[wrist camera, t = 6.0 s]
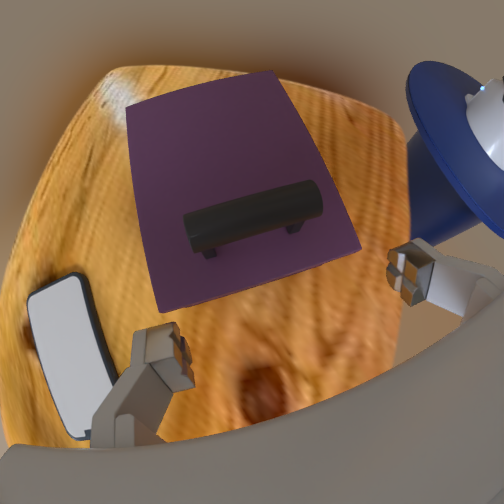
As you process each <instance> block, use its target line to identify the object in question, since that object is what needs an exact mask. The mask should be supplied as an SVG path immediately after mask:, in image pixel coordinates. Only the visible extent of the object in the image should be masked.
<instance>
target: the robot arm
mask: <svg viewBox="0 0 504 504" xmlns="http://www.w3.org/2000/svg"><path fill="white" fill-rule="evenodd" d="M480 89H481V90H480V91H479V92H478V93H477V94H476V95H475V96H474V95H471V94H467V95H466V96H465V100H466V103H467V109H466V115H467V119H468V122H469V125H470V127H471V129H472V131H473V133H474V135H475V137H476V139H477V140H478V142H479V143H480V145H481V146H482V148H483V149H484V151H485V152H486V153H487V154H488V156H489V157H490V158H491V159H492V160H493V162H494V163H495V164H496V165H497V166H498V167H499V168H501V169H502V170H503V171H504V76H503V80H498V79H491V80H490V81H489V82H488V83H487V84H486V85H485V86H484V87H483V86H482V87H481V88H480ZM387 259H388V261H389V262H390V263H389V265H388V267H387V268H386V277H387V281H388V283H389V285H390V287H391V288H392V289H393V290H395V291H398V292H400V297H401V298H402V299H403V300H404V301H405V302H406V303H407V304H408V305H409V306H410V307H411V306H413V305H416V304H417V303H420V302H422V301H424V300H426V301H429V302H431V303H433V304H435V305H437V306H440V307H442V308H444V309H446V310H448V311H451V312H453V313H455V314H457V315H460V316H462V317H463V318H462V321H461V323H460V326H459V327H458V328H456V329H455V330H454V331H452V332H451V333H449V334H448V335H446V336H445V337H443V338H442V339H440V340H439V341H437V342H436V343H434V344H433V345H431V346H429V347H428V348H427V349H425V350H423V351H421V352H420V353H418V354H416V355H415V356H413V357H411V358H410V359H408V360H406V361H405V362H403V363H401V364H399V365H397V366H396V367H394V368H392V369H390V370H388V371H386V372H384V373H382V374H380V375H378V376H376V377H374V378H372V379H370V380H368V381H366V382H364V383H362V384H360V385H358V386H356V387H354V388H352V389H349V390H347V391H345V392H343V393H340V394H338V395H336V396H333V397H331V398H329V399H326V400H324V401H321V402H319V403H316V404H314V405H311V406H308V407H306V408H303V409H300V410H298V411H295V412H292V413H289V414H286V415H283V416H280V417H277V418H274V419H271V420H267V421H264V422H261V423H257V424H254V425H250V426H247V427H243V428H239V429H235V430H231V431H227V432H223V433H218V434H214V435H209V436H204V437H199V438H194V439H189V440H183V441H176V442H170V443H167V442H165V441H164V440H163V439H161V438H160V437H159V436H157V435H156V432H157V430H158V428H159V425H160V423H161V421H162V419H163V416H164V414H165V412H166V410H167V407H168V405H169V403H170V401H171V399H172V396H173V393H175V392H179V391H183V390H187V389H191V388H195V380H194V372H193V370H192V369H191V367H190V365H191V363H192V356H191V352H190V348H189V346H188V343H187V341H186V339H185V338H184V337H182V336H180V329H179V327H178V325H177V324H176V322H170V323H166V324H162V325H158V326H154V327H149V328H147V329H142V330H138V331H135V332H134V334H133V341H132V351H131V362H130V367H129V368H126V369H125V371H124V372H123V374H122V375H121V376H120V378H119V379H118V381H117V382H116V383H115V385H114V386H113V388H112V389H111V390H110V392H109V393H108V395H107V396H106V398H105V399H104V400H103V402H102V403H101V405H100V406H99V408H98V409H97V410H96V412H95V413H94V415H93V416H92V425H91V439H90V448H56V447H43V446H33V445H26V444H14V445H12V446H11V447H10V448H9V449H8V450H7V451H6V453H5V454H4V455H3V456H2V458H1V459H0V504H504V275H503V274H501V273H500V272H499V271H498V270H496V269H495V268H494V267H490V266H487V265H483V264H479V263H476V262H472V261H468V260H464V259H460V258H456V257H452V256H444V255H443V254H441V253H440V252H439V251H437V250H436V249H434V248H433V247H432V246H431V245H429V244H428V243H427V242H425V241H424V240H422V239H420V238H416V239H414V240H412V241H409V242H408V243H405V244H403V245H400V246H398V247H395V248H393V249H390V250H389V252H388V257H387Z"/></svg>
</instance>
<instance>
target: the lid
mask: <svg viewBox="0 0 504 504" xmlns="http://www.w3.org/2000/svg"><path fill="white" fill-rule="evenodd" d="M126 123H127V136H128V147H129V156H130V165H131V174H132V181H133V188H134V195H135V202H136V208H137V214H138V220H139V226H140V231H141V236H142V242H143V247H144V252H145V256H146V261H147V266H148V270H149V274H150V279H151V283H152V287H153V291H154V295H155V299H156V303H157V307H158V310H159V313H167V312H170V311H174V310H177V309H181V308H184V307H187V306H191V305H194V304H198V303H201V302H204V301H208V300H211V299H215V298H218V297H221V296H224V295H228V294H231V293H234V292H237V291H241V290H244V289H247V288H250V287H254V286H257V285H260V284H263V283H266V282H269V281H272V280H275V279H279V278H282V277H285V276H288V275H291V274H294V273H297V272H300V271H303V270H306V269H309V268H312V267H315V266H318V265H321V264H324V263H327V262H330V261H333V260H335V259H338V258H341V257H344V256H347V255H350V254H353V253H356V252H358V251H359V250H361V249H362V247H361V245H360V242H359V240H358V237H357V235H356V232H355V230H354V227H353V225H352V222H351V220H350V218H349V215H348V213H347V211H346V208H345V206H344V204H343V201H342V199H341V197H340V195H339V193H338V190H337V188H336V186H335V184H334V182H333V180H332V178H331V175H330V173H329V171H328V169H327V167H326V165H325V163H324V161H323V159H322V157H321V155H320V153H319V151H318V149H317V147H316V145H315V143H314V141H313V139H312V138H311V136H310V134H309V132H308V130H307V128H306V126H305V125H304V123H303V121H302V119H301V117H300V116H299V114H298V112H297V110H296V108H295V107H294V105H293V103H292V102H291V100H290V98H289V96H288V95H287V93H286V91H285V90H284V88H283V86H282V85H281V83H280V82H279V80H278V78H277V77H276V75H275V74H274V72H273V71H272V70H270V71H264V72H257V73H250V74H245V75H239V76H234V77H229V78H224V79H219V80H215V81H210V82H206V83H202V84H198V85H194V86H190V87H187V88H183V89H179V90H176V91H173V92H169V93H166V94H163V95H160V96H156V97H153V98H150V99H148V100H145V101H142V102H139V103H136V104H133V105H131V106H128V107H126Z"/></svg>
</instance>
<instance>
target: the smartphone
mask: <svg viewBox="0 0 504 504" xmlns="http://www.w3.org/2000/svg"><path fill="white" fill-rule="evenodd" d="M27 311H28V316H29V321H30V326H31V330H32V334H33V339H34V343H35V346H36V350H37V354H38V357H39V361H40V364H41V367H42V370H43V373H44V377H45V380H46V382H47V385H48V388H49V391H50V394H51V396H52V399H53V401H54V404H55V406H56V409H57V411H58V414H59V416H60V418H61V421H62V423H63V425H64V427H65V429H66V431H67V433H68V435H69V436H70V437H71V438H73V439H74V440H77V441H84V440H90V439H91V425H92V416H93V415H94V413H95V412H96V410H97V409H98V408H99V406H100V405H101V403H102V402H103V400H104V399H105V398H106V396H107V395H108V393H109V392H110V390H111V389H112V388H113V386H114V385H115V383H116V382H117V381H118V379H119V378H118V375H117V373H116V370H115V367H114V365H113V362H112V359H111V357H110V354H109V351H108V348H107V345H106V342H105V339H104V336H103V333H102V330H101V326H100V323H99V320H98V316H97V313H96V309H95V306H94V302H93V298H92V294H91V290H90V286H89V282H88V279H87V278H86V276H84V275H83V274H81V273H78V272H72V273H70V274H68V275H65V276H63V277H61V278H59V279H57V280H55V281H53V282H51V283H49V284H47V285H45V286H44V287H42V288H40V289H38V290H36V291H34V292H32V293H31V294H30V295H29V296H28V298H27Z"/></svg>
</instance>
